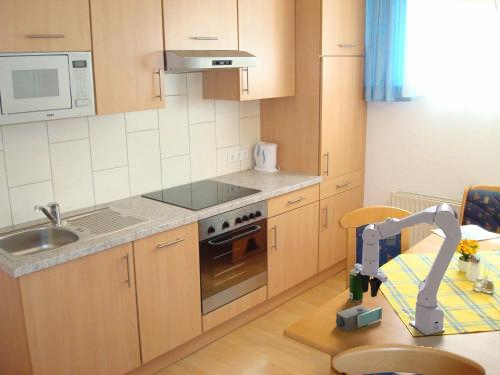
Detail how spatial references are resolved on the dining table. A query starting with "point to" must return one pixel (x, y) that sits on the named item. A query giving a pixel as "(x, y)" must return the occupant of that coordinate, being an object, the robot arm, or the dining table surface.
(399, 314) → the dining table surface
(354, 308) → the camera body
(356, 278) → the beer can
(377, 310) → the side door
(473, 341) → the dining table surface
